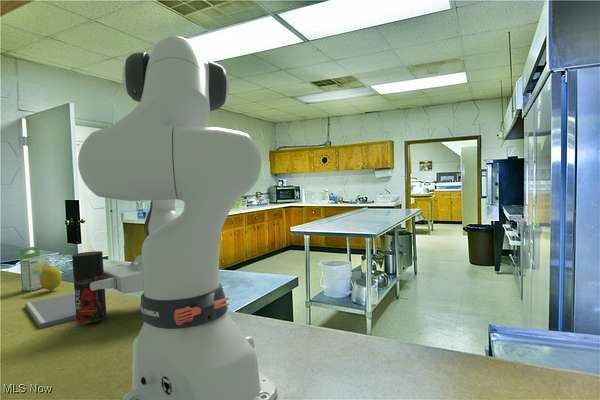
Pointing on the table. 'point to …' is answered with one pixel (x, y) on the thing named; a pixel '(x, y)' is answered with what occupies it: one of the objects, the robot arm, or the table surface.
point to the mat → (53, 310)
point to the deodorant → (87, 300)
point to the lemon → (50, 278)
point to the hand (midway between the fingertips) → (85, 283)
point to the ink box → (32, 268)
